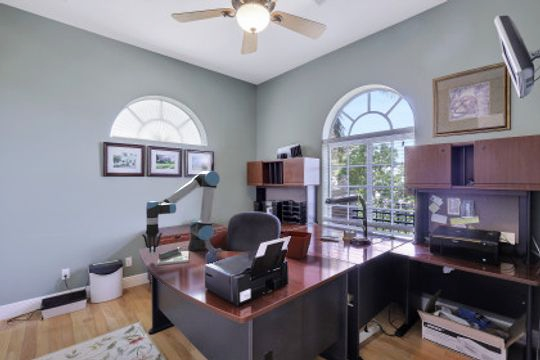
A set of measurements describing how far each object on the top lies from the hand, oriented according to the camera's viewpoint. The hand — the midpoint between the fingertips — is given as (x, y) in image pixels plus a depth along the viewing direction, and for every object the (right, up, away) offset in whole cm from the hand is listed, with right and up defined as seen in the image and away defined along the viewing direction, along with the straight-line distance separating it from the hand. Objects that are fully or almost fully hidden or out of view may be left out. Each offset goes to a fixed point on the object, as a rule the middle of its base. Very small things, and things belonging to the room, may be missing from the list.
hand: (152, 257), depth 177 cm
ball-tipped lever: (+10, -2, +7) cm, 12 cm away
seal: (+44, -4, -2) cm, 44 cm away
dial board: (+12, -3, +8) cm, 15 cm away
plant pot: (+102, -4, +15) cm, 103 cm away
